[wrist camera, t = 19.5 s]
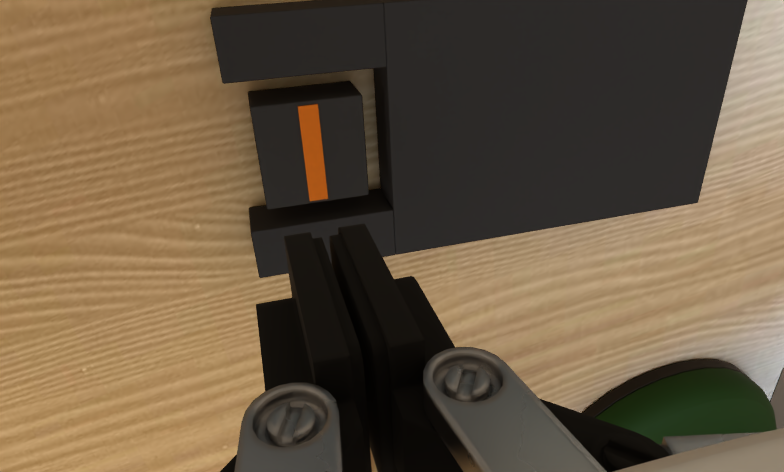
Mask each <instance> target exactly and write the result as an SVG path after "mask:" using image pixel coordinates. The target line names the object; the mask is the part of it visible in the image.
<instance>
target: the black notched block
mask: <svg viewBox="0 0 784 472" xmlns="http://www.w3.org/2000/svg"><path fill="white" fill-rule="evenodd" d="M746 4H747V0H313V1H300V2H287V3H274V4H261V5H247V6H234V7H221V8H212V11H211V17H210V19H211V24H212V30H213V35H214V40H215V46H216V51H217V56H218V61H219V67H220V72H221V77H222V82H223V83H224V84H225V83H234V82H244V81H254V80H264V79H273V78H283V77H293V76H302V75H312V74H322V73H332V72H341V71H351V70H361V69H371V68H374V83H375V100H376V117H377V134H378V151H379V168H380V185H381V189H375V190H369V194H368V195H363V196H356V197H349V198H343V199H336V200H329V201H322V202H316V203H309V204H302V205H295V206H288V207H282V208H275V209H267V206H259V207H252V208H249V215H250V227H251V236H252V241H253V246H254V251H255V257H256V262H257V267H258V273H259V277H260V278H263V277H269V276H275V275H280V274H286V273H289V270H288V263H287V256H286V249H285V242H284V236H288V235H294V234H300V233H307V232H311V235H312V238H319V237H322V239H323V242H324V244H325V247H326V250H327V253H328V256H329V259H330V262H331V252H330V242H329V237H330V236H332V235H338V228H339V227H345V226H351V225H358V224H365V225H366V227H367V229H368V230H369V232H370V234H371V236H372V238H373V240H374V242H375V244H376V246H377V248H378V250H379V252H380V254H381V256H382V257H385V256H391V255H395V254H402V253H408V252H414V251H420V250H426V249H431V248H437V247H443V246H449V245H455V244H460V243H466V242H472V241H478V240H484V239H490V238H495V237H501V236H507V235H513V234H519V233H524V232H530V231H536V230H542V229H548V228H553V227H559V226H565V225H571V224H577V223H582V222H588V221H594V220H600V219H606V218H612V217H617V216H623V215H629V214H635V213H641V212H646V211H652V210H658V209H664V208H670V207H675V206H681V205H687V204H693V203H698V200H699V195H700V191H701V187H702V183H703V179H704V175H705V171H706V167H707V163H708V159H709V155H710V151H711V147H712V143H713V138H714V134H715V130H716V126H717V122H718V118H719V114H720V110H721V106H722V102H723V98H724V94H725V90H726V86H727V82H728V77H729V73H730V69H731V65H732V61H733V57H734V53H735V49H736V45H737V41H738V37H739V33H740V29H741V25H742V20H743V16H744V12H745V8H746ZM331 264H332V262H331Z"/></svg>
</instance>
